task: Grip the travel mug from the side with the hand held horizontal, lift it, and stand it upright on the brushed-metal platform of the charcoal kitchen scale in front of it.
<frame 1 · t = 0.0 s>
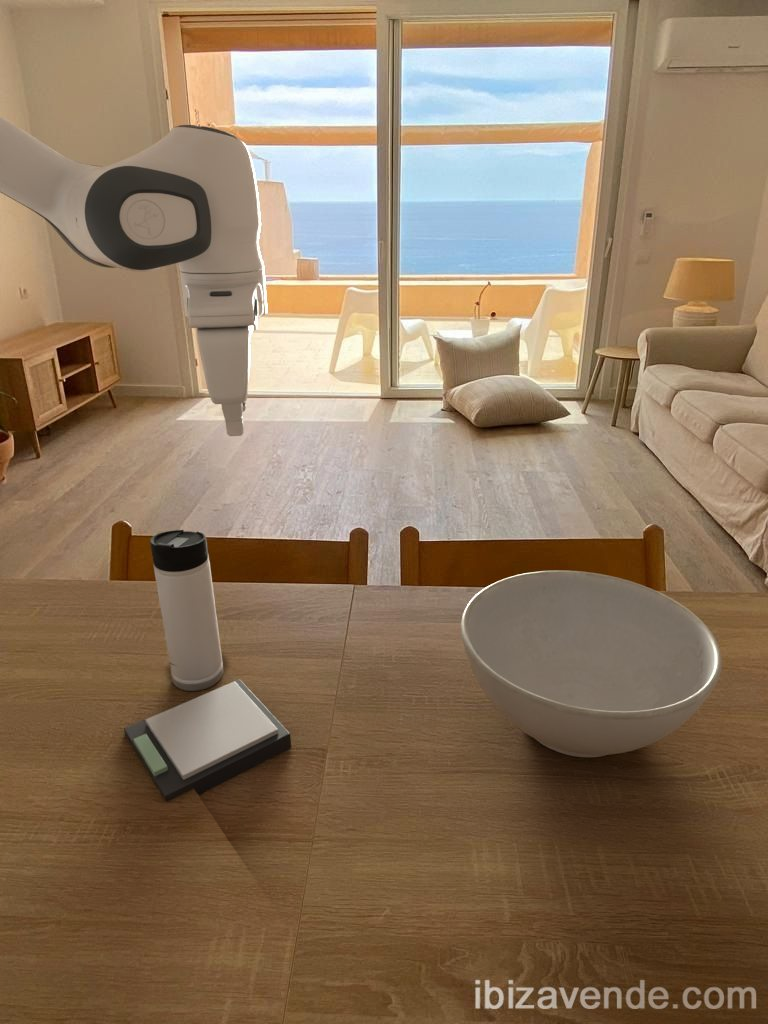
hand: (237, 421, 81), 31 cm above the table, tool pointing down, fingers open, 8 cm apart
travel mug: (197, 678, 87), on the table
kitchen scale: (208, 745, 76), on the table
decorative bowl: (574, 720, 80), on the table
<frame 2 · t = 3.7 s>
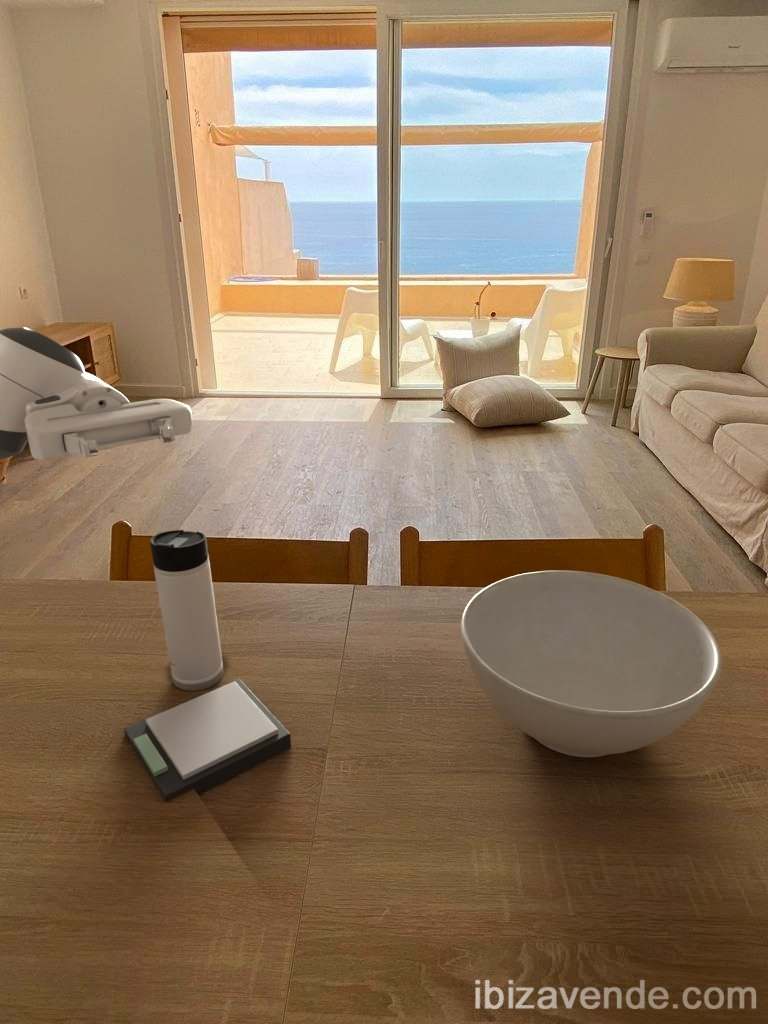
hand: (131, 442, 84), 28 cm above the table, tool horizontal, fingers open, 8 cm apart
nothing on the table moved.
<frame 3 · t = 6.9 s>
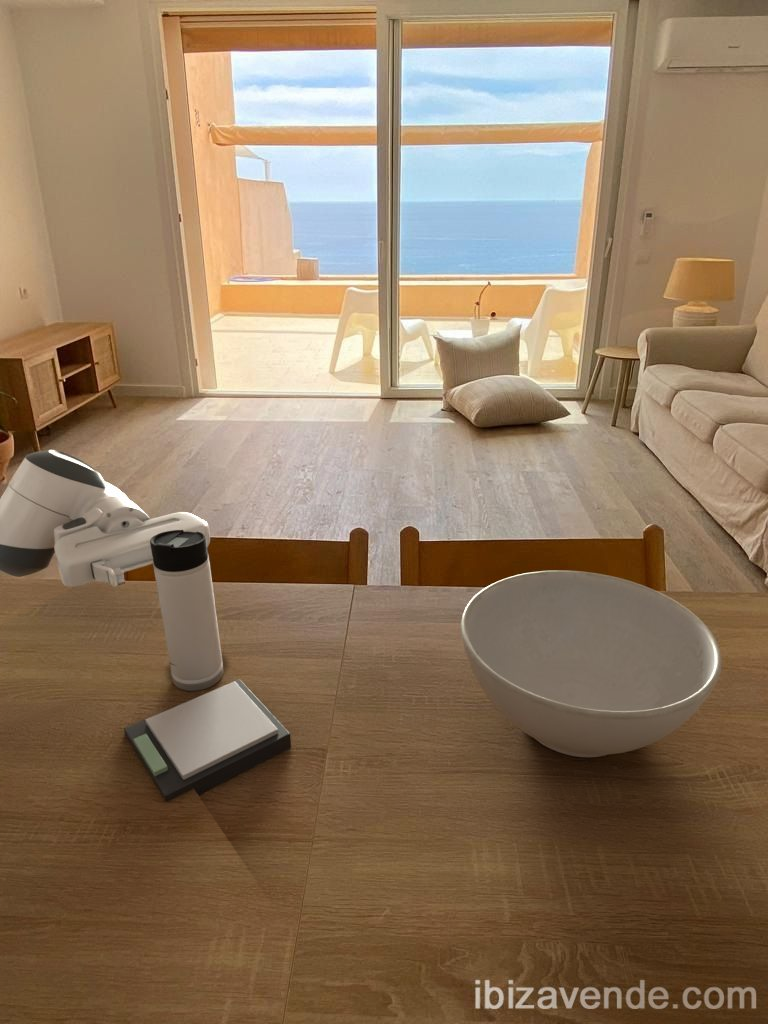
hand: (155, 569, 90), 11 cm above the table, tool horizontal, fingers open, 8 cm apart
nothing on the table moved.
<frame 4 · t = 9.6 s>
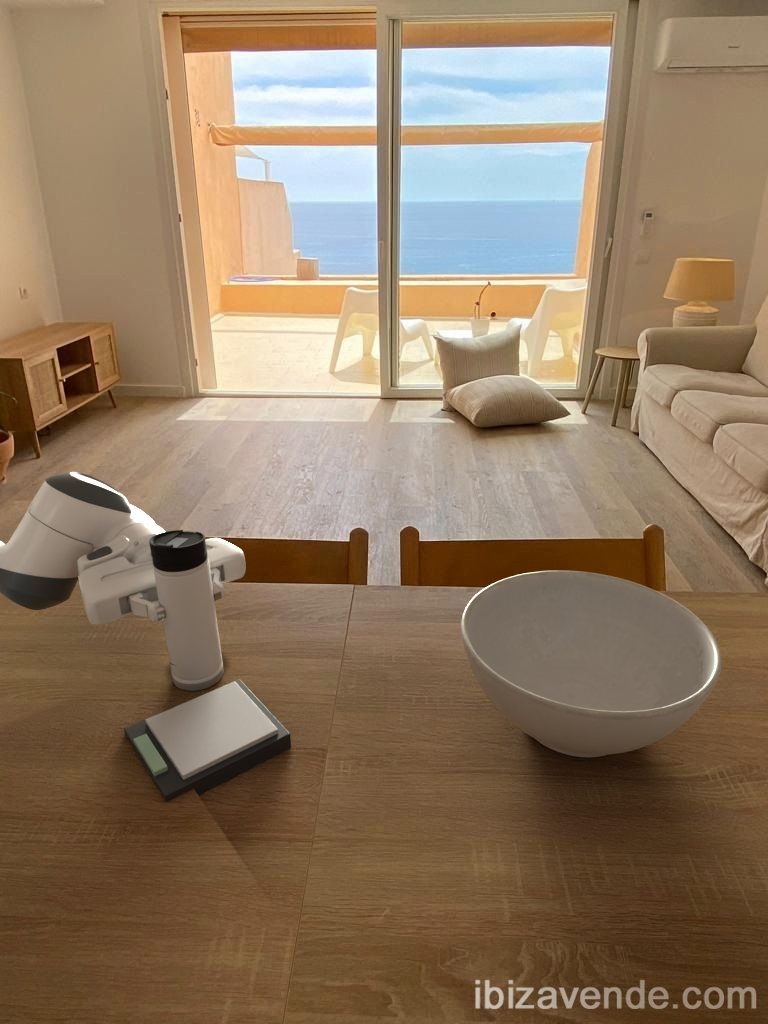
hand: (189, 604, 82), 11 cm above the table, tool horizontal, fingers closed on travel mug, 6 cm apart
travel mug: (198, 678, 87), on the table, touching gripper
everything else where it was.
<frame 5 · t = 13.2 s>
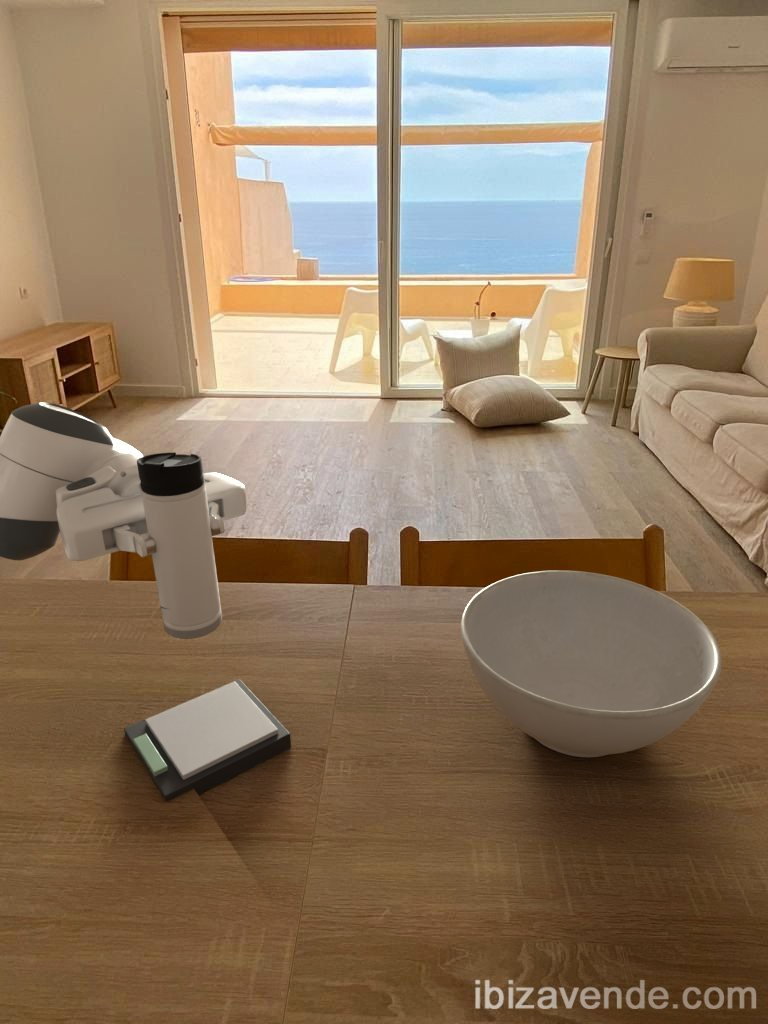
hand: (183, 538, 71), 23 cm above the table, tool horizontal, fingers closed on travel mug, 6 cm apart
travel mug: (193, 626, 77), point 12 cm above the table, touching gripper
everything else where it was.
when the fingers open (14 cm above the table, at t = 17.1 s): travel mug stays where it is, resting on kitchen scale.
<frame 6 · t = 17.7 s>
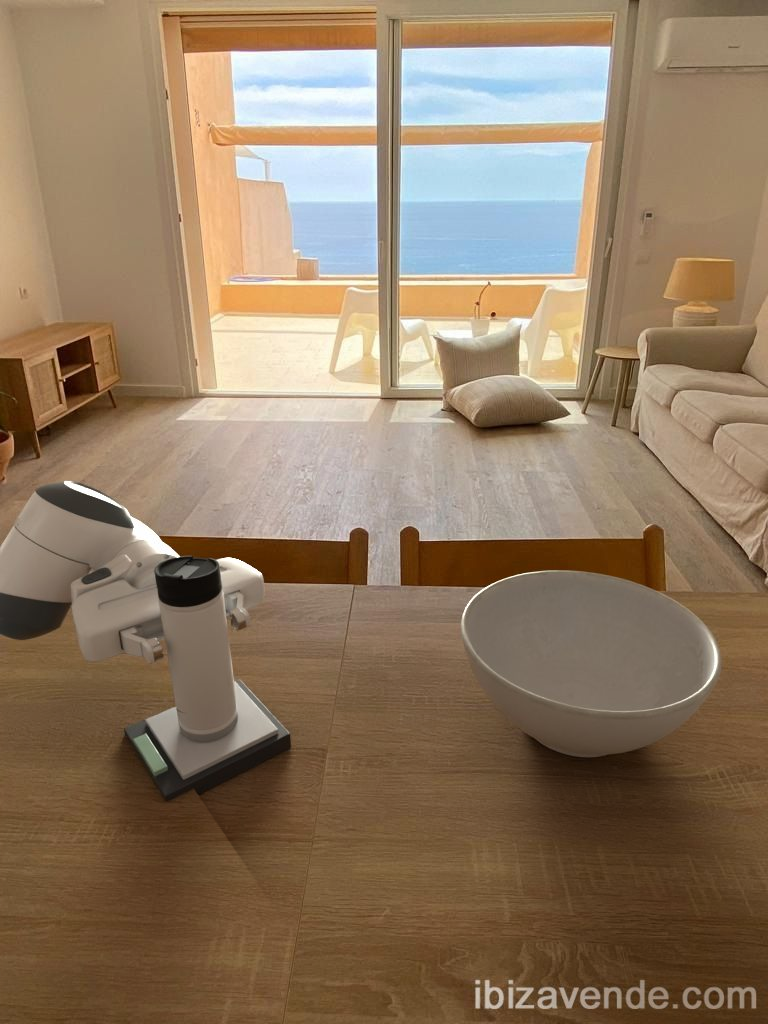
hand: (201, 638, 70), 14 cm above the table, tool horizontal, fingers open, 8 cm apart
travel mug: (208, 725, 76), point 2 cm above the table, touching kitchen scale
everything else where it was.
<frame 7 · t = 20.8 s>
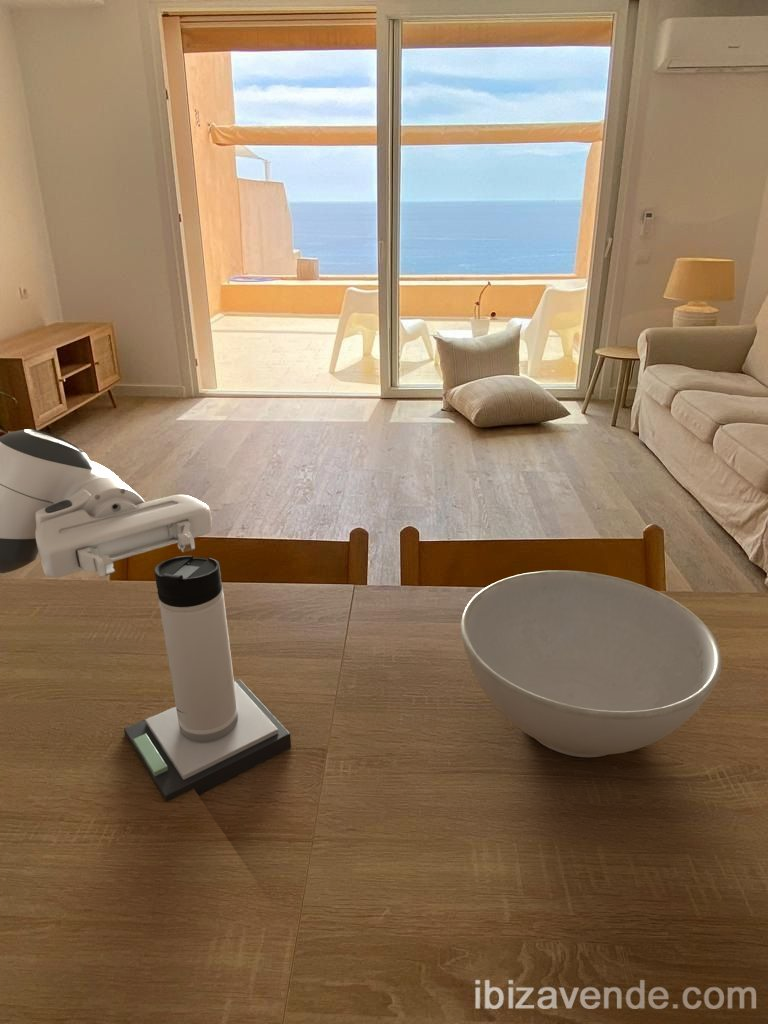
hand: (149, 556, 79), 18 cm above the table, tool horizontal, fingers open, 8 cm apart
nothing on the table moved.
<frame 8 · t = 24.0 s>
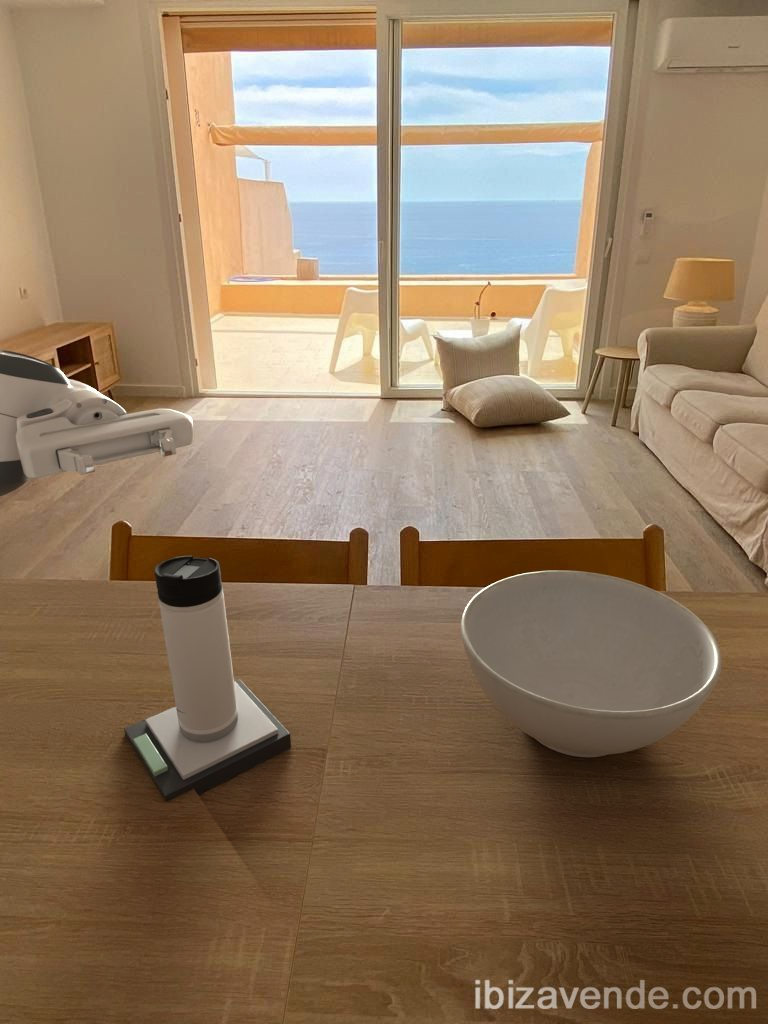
hand: (130, 457, 79), 28 cm above the table, tool horizontal, fingers open, 8 cm apart
nothing on the table moved.
at the end: travel mug inside the target area on the kitchen scale (0.3 cm from its centre), point 2.4 cm above the kitchen scale's base; travel mug tilted 0°; the gripper is holding nothing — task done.
